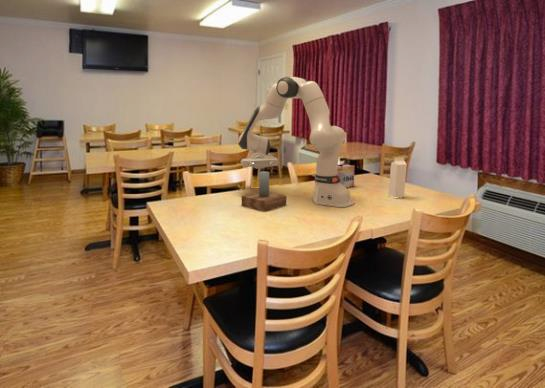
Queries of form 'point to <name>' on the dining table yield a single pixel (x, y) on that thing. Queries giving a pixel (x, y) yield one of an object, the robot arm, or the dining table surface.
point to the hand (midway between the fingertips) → (261, 164)
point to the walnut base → (264, 201)
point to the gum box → (346, 174)
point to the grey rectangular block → (263, 184)
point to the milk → (397, 177)
